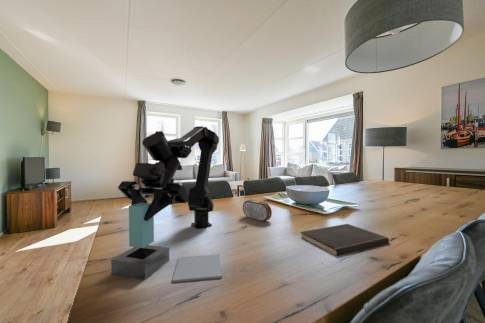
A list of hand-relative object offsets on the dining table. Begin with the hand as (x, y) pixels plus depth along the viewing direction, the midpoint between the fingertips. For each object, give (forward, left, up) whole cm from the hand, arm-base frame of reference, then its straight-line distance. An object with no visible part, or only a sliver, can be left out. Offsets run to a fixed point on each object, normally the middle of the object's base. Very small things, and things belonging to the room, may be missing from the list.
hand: (137, 219), depth 52 cm
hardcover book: (+16, +61, -13) cm, 64 cm away
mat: (+7, +13, -12) cm, 19 cm away
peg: (-1, +1, -7) cm, 7 cm away
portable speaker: (-19, +50, -13) cm, 55 cm away
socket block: (-1, +1, -12) cm, 13 cm away
